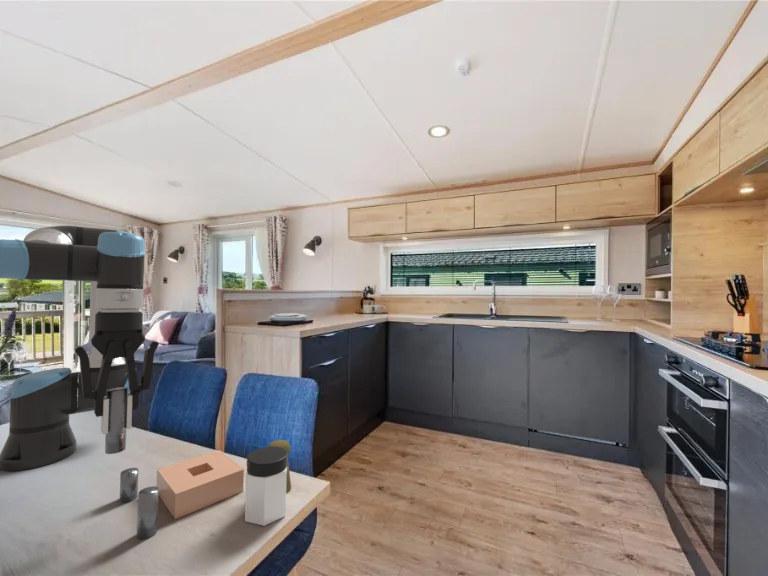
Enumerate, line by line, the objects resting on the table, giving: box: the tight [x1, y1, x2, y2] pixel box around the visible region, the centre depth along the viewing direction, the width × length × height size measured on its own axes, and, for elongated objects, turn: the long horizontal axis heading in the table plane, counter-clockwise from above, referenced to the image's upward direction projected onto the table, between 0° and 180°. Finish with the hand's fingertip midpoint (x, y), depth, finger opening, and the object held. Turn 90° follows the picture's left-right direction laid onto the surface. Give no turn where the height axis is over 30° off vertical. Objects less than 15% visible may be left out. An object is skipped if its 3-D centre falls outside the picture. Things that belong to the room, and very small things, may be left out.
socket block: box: [156, 449, 245, 520], centre depth 79 cm, size 14×14×5 cm
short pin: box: [119, 467, 139, 504], centre depth 76 cm, size 3×3×6 cm
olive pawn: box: [267, 439, 292, 494], centre depth 80 cm, size 6×6×11 cm
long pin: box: [104, 387, 127, 455], centre depth 68 cm, size 3×3×12 cm
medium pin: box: [135, 485, 160, 541], centre depth 65 cm, size 3×3×8 cm
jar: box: [244, 446, 289, 527], centre depth 72 cm, size 9×8×12 cm
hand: (116, 428), depth 68 cm, fingers closed on long pin, 3 cm apart
